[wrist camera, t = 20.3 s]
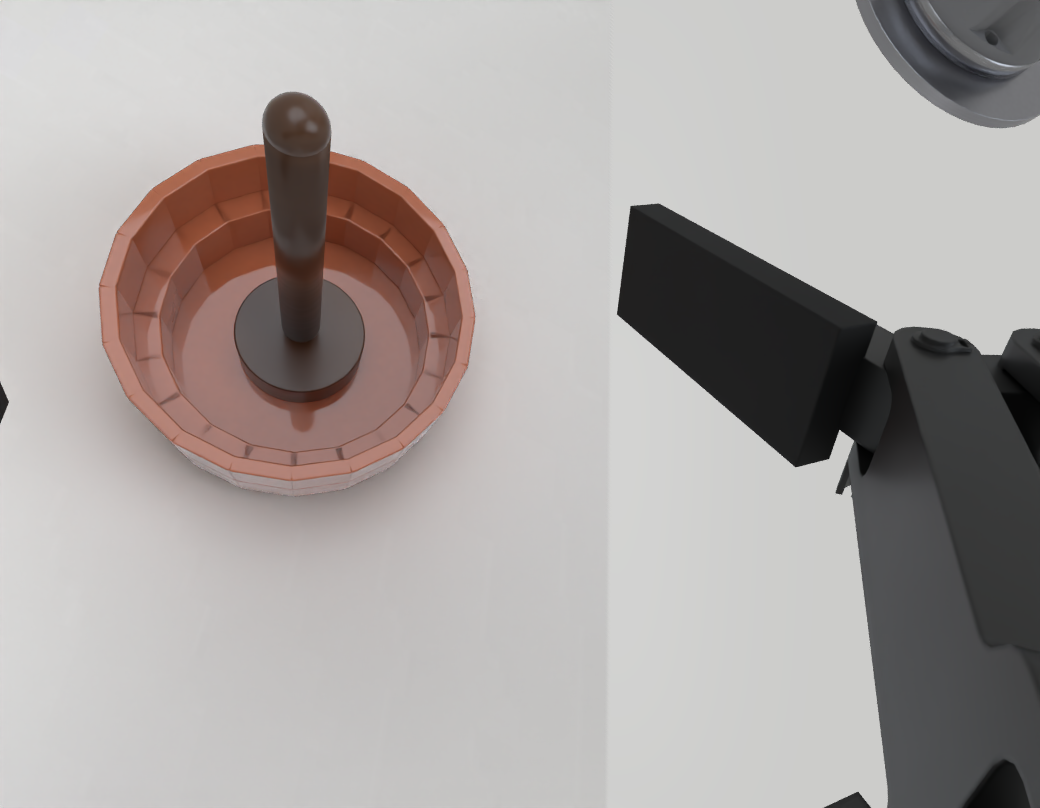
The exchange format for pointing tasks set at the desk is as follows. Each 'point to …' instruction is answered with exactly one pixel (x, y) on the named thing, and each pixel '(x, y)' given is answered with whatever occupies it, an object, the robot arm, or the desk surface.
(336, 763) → the desk surface
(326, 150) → the brown peg stand
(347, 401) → the bowl
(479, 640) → the desk surface
